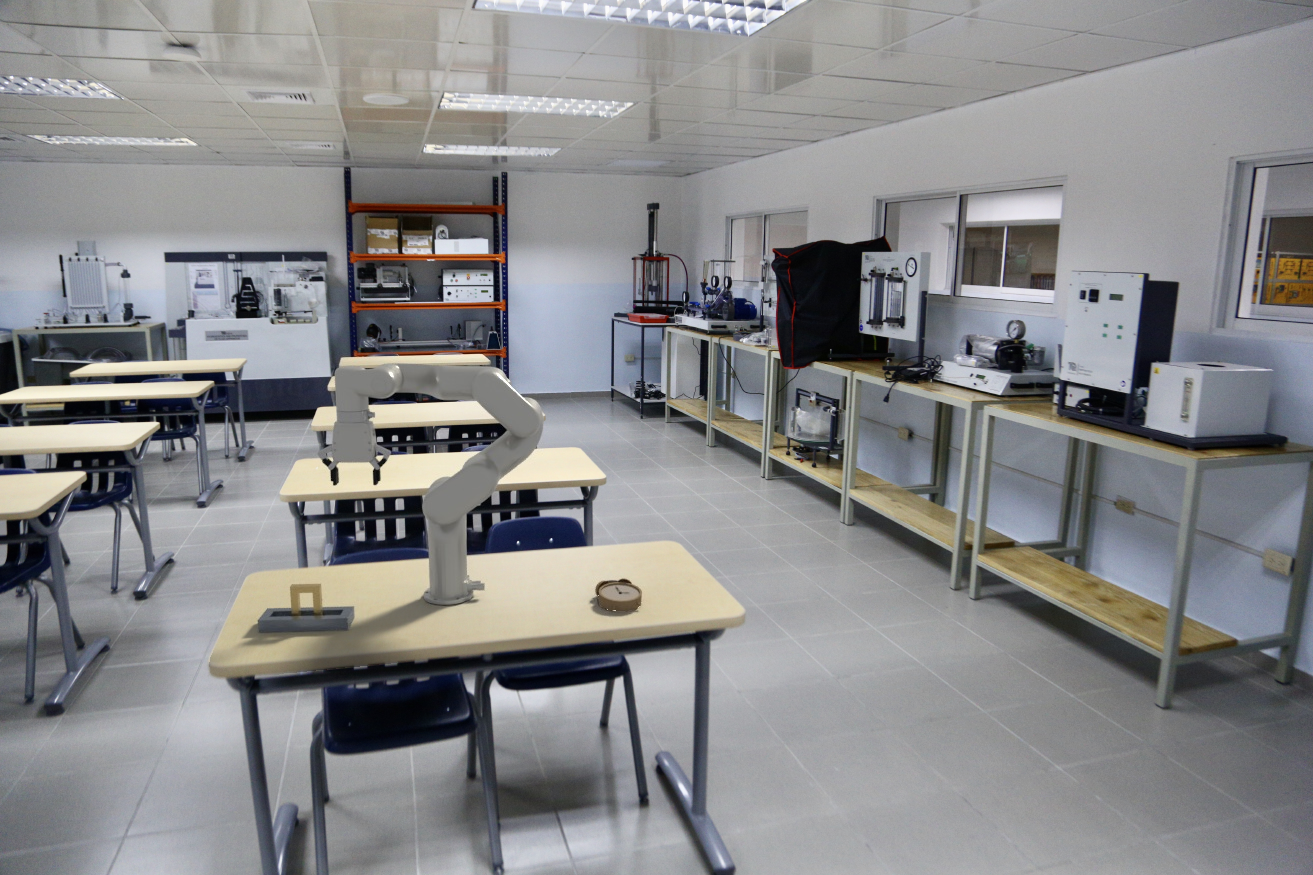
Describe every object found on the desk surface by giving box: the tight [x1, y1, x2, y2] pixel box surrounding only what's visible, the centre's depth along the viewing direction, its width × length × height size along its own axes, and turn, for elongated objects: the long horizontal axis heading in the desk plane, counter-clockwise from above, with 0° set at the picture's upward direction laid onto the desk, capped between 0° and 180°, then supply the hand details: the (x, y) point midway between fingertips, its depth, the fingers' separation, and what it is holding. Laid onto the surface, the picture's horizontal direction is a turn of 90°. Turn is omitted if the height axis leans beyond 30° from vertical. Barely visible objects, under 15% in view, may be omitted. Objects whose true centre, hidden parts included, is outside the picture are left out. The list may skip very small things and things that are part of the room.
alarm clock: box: [594, 577, 643, 612], centre depth 220 cm, size 11×5×15 cm
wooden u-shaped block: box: [289, 583, 323, 616], centre depth 200 cm, size 7×2×9 cm, turn 97°
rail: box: [257, 605, 355, 633], centre depth 201 cm, size 20×7×3 cm, turn 97°
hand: (356, 484), depth 212 cm, fingers open, 9 cm apart
